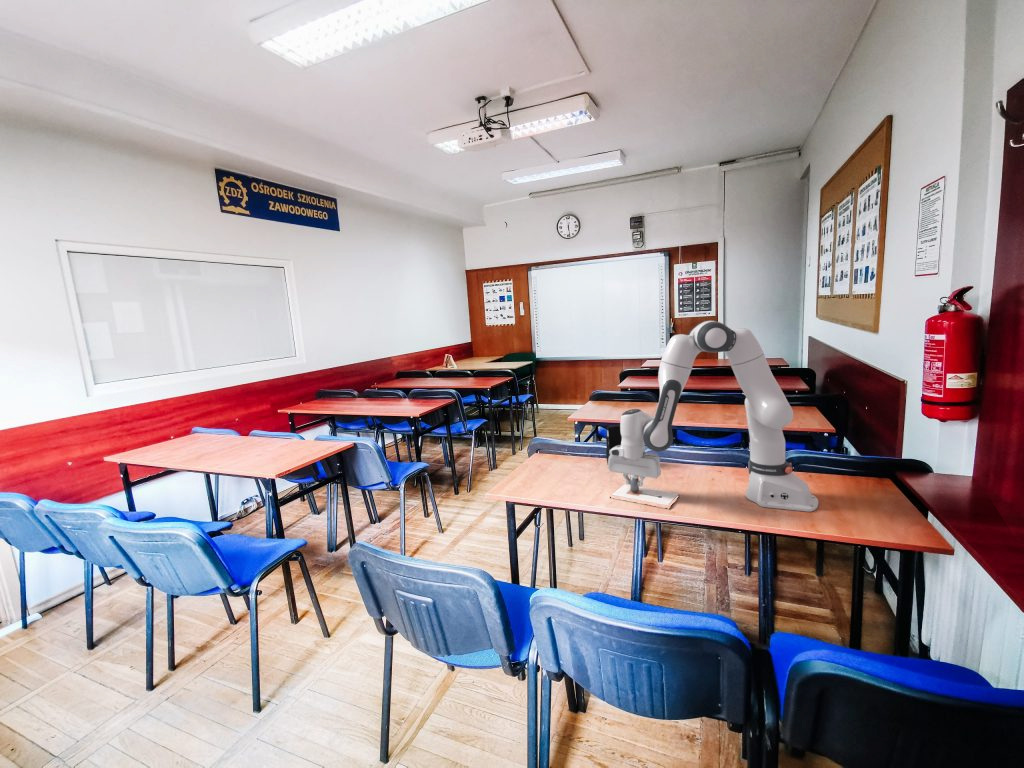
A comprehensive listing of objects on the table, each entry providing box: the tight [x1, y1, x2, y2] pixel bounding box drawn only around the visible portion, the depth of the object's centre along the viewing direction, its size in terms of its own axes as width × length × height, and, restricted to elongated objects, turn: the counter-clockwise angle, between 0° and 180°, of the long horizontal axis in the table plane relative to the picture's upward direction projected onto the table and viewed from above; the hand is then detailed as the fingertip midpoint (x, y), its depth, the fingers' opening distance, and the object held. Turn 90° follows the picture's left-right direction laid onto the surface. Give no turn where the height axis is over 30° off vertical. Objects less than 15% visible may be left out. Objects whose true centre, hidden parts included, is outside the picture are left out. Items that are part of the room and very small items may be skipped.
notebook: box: [611, 483, 679, 506], centre depth 171 cm, size 23×13×1 cm, turn 52°
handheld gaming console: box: [605, 424, 622, 465], centre depth 207 cm, size 12×5×20 cm, turn 105°
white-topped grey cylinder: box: [629, 474, 640, 492], centre depth 173 cm, size 3×3×7 cm
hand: (634, 485), depth 173 cm, fingers closed on white-topped grey cylinder, 3 cm apart
